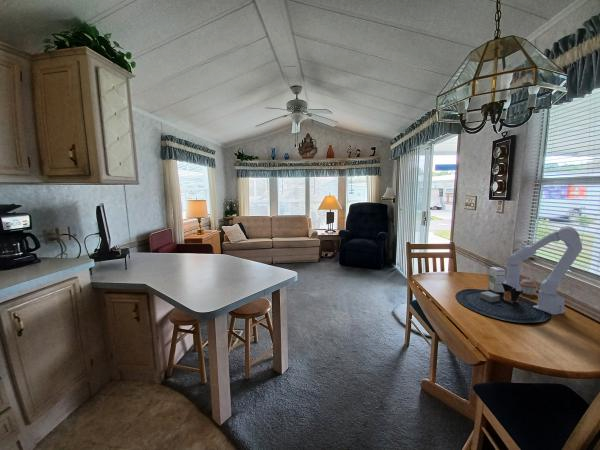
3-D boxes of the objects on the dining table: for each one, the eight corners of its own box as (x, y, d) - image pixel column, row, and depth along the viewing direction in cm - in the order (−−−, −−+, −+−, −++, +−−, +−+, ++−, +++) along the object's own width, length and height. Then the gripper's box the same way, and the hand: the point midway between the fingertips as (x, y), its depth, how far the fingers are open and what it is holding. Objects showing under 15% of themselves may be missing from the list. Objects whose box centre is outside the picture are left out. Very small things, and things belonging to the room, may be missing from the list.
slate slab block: (499, 301, 145) (499, 295, 145) (491, 302, 143) (491, 296, 143) (487, 296, 152) (488, 291, 151) (479, 298, 150) (480, 292, 149)
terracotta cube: (517, 302, 143) (518, 293, 143) (511, 303, 142) (512, 294, 142) (509, 299, 148) (510, 290, 147) (503, 300, 146) (504, 291, 146)
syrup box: (504, 292, 157) (506, 269, 155) (494, 292, 157) (496, 269, 155) (497, 288, 163) (499, 266, 161) (487, 288, 163) (489, 266, 161)
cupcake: (513, 290, 159) (514, 275, 158) (528, 290, 159) (530, 275, 158) (525, 296, 150) (527, 280, 149) (542, 296, 150) (544, 280, 148)
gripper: (498, 270, 151) (496, 293, 153) (511, 279, 137) (508, 303, 139) (512, 271, 149) (510, 294, 151) (526, 280, 135) (524, 304, 137)
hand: (510, 298), depth 145 cm, fingers open, 6 cm apart
